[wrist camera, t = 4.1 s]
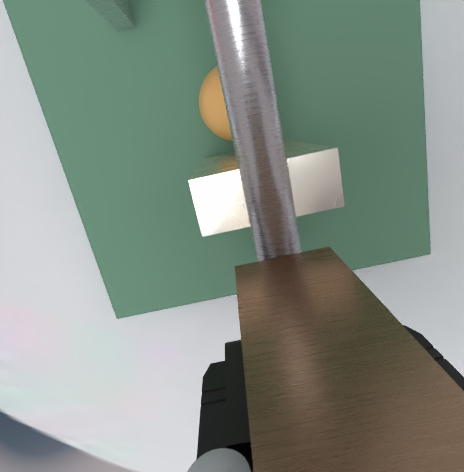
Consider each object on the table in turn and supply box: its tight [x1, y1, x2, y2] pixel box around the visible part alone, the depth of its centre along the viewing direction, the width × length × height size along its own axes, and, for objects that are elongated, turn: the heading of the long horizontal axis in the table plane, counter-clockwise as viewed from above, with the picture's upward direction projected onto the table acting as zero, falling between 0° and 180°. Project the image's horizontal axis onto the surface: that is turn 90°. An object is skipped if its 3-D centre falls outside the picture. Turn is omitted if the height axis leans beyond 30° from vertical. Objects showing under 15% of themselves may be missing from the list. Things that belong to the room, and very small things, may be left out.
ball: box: [199, 66, 233, 141], centre depth 18 cm, size 4×4×4 cm
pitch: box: [3, 0, 431, 319], centre depth 20 cm, size 22×24×1 cm
